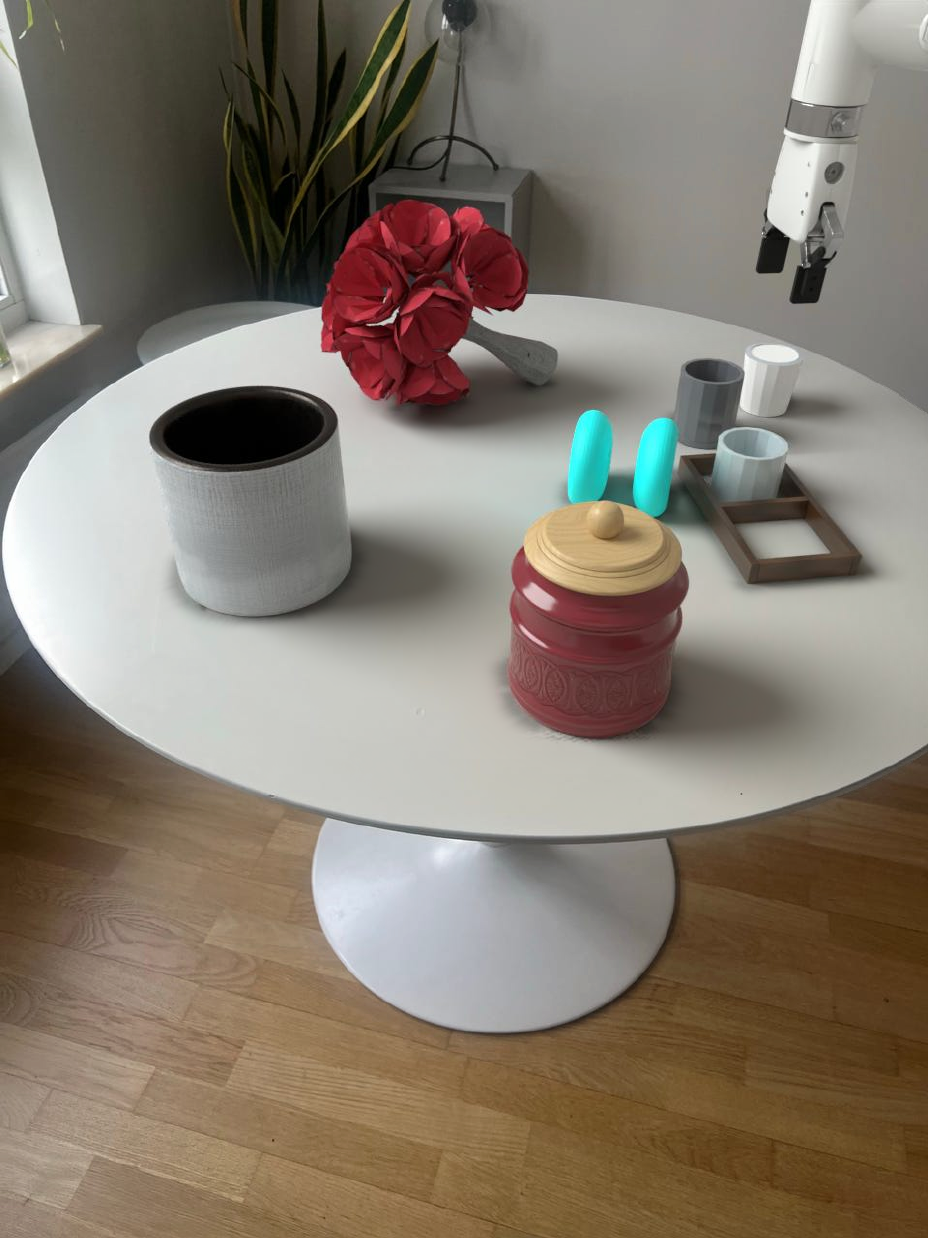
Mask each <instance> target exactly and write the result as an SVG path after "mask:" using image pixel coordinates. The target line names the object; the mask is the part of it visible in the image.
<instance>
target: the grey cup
mask: <svg viewBox="0 0 928 1238" xmlns="http://www.w3.org/2000/svg"><path fill="white" fill-rule="evenodd" d="M744 376H745V371H744V368H743V367H741V365H738V364H737V363H735V362H732V361H730V360H725V359H721V358H713V357H701V358H694V359H690V360H687V361H686V362H684V363H682V365H681V367H680V374H679V378H678V379H679V380H678V386H677V392H676V399H675V406H674V413H673V419H672V420H673V421H674V422H675V423H676V425H677V427H678V439H677V443H678V442H679V443H680V444H682V445H685V446H687V447H691V448H694V449H703V450H712V449H717V444H718V439H719V436H720V435H721V434H722V433H723V432H724V431H726V430H729V429H733V428H736V427H735V426H736V421H737V417H738V411H739V407H740V400H741V392H742V387H743V382H744Z"/></svg>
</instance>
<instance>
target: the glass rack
mask: <svg viewBox="0 0 928 1238" xmlns="http://www.w3.org/2000/svg"><path fill="white" fill-rule="evenodd" d="M715 455H716V452H711V453H698V454H684V455H680V456H679V461H678V468H677V475H678V476H679V478H680V480H681V481H682V483H683V484H684V486H685V488H686V489H687V491H688V493H689V494H690V495H691V498H692V499H693V501H694V502H695V504H696V505H697V507H698V508H699V510H700V511H701V513H702V515H703V517H704V518H705V519H706V521H707V522H708V525H709V526H710V528H711V529H712V531H713V532H714V534H715V535H716V537H717V538H718V540H719V542H720V543H721V545H722V546H723V548H724V549H725V551H726V553H727V554H728V556H729V558H730V559H731V561H732V562H733V564H734V565H735V567H736V569H737V570H738V572H739V574H740V575H741V576H742V578H743V580H744V581H745V583H746V584H747V585H754V584H765V583H775V582H787V581H788V582H789V581H798V580H799V581H800V580H809V579H810V580H811V579H821V578H833V577H846V576H856V575H857V574H858V570H859V568H860V564H861V561H862V558H863V554H862V553H861V552H860V550H859V549H858V548H857V547H856V546H855V544H854V543H853V542H852V541H851V540H850V539H849V537H848V536H847V535H846V534H845V532H844V531H843V530H842V529H841V528H840V526H839V525H838V524H837V523H836V522H835V520H834V519H833V518H832V517H831V516H830V514H829V513H828V511H826V509H825V508H824V507H823V506H822V505H821V504H820V502H819V501H818V500H817V498H815V496H814V495H813V493H811V491H810V490H809V489H808V487H806V485H805V484H804V483H803V482H802V480H800V478H799V477H798V476H797V474H796V473H795V472H794V471H793V470H792V468H791V467H790V466H789V465H788V463H787V462H786V461H785V465H784V469H783V473H782V477H781V482H780V486H779V489H780V490H781V491H782V493H783V494H784V495H785V496H786V497H779V498H778V497H777V498H776V499H764V500H751V501H738V502H725V503H719V502H718V501H717V499H716V498H715V496H714V495H713V493H712V492H711V490H710V489H709V485H708V484H707V482H706V481H705V480H704V477H702V476H706V475H707V476H709V475H712V470H713V465H714V460H715ZM803 519H804V521H805V522H806V523H807V524H808V526H809V527H810V528H811V530H812V531H813V532H814V533H815V535H816V536H817V537H818V539H819V541H821V542H822V544H823V545H824V546H825V547H826V548H827V550H828V551H829V553H827V552H826V553H817V554H803V555H793V556H782V557H781V556H779V557H767V558H757V557H756V556H755V554H754V553H753V552H752V550H751V548H750V546H748V544H747V542H746V540H745V539H744V538H743V537H742V535H741V534H740V532H739V531H738V529H737V528H736V525H740V524H752V523H753V524H754V523H764V522H766V523H767V522H777V521H778V522H779V521H791V520H792V521H793V520H803Z"/></svg>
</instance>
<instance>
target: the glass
mask: <svg viewBox="0 0 928 1238" xmlns="http://www.w3.org/2000/svg"><path fill="white" fill-rule="evenodd" d="M715 449H716V451H715V453H716V455H715V460H714V465H713V470H712V474H711V477H710V482H709V485H708V487H709V489H710V490H711V492H712V493H713V495H714V496H715V498H716V499H717V501H718V502H719V503H725V502H738V501H751V500H764V499H777V498H778V493H779V490H780V487H779V486H780V482H781V477H782V473H783V469H784V465H785V462H786V460H787V456H788V452H789V443H788V442H787V441H786V440H785V438H783V436H780V435H779V434H777V433H775V432H773V431H770V430H767V429H763V428H760V427H759V428H758V427H752V426H751V427H750V426H749V427H748V426H745V427H744V426H743V427H742V426H741V427H740V426H739V427H734V428H733V429H729V430H726V431H724V432H723V433H722V434H721V435H720V436H719V439H718V444H717V448H715Z"/></svg>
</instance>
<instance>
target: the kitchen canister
mask: <svg viewBox="0 0 928 1238" xmlns="http://www.w3.org/2000/svg"><path fill="white" fill-rule="evenodd" d="M679 540H680V539H679V538H678V537H677V536H676V534H675V533H674V532H673V531H672V530H671V529H670V527H668V526H667V525H666V524H664V523H663V522H662V521H660V520H659V519H658V518H656V517H651V516H649V515H648V514H646V513H644V512H643V511H641V510H639V509H637V507H633V506H630V505H627V504H624V503H619V502H614V501H611V500H599V501H589V502H581V503H576V504H572V503H571V504H569V505H566V506H564V507H561V508H557V509H555V510H552V511H550V512H547V513H546V514H543V515H542V516H540V517H539V518H538V519H536V520H535V521H534V522H533V523H532V524H531V525H530V526H529V527H528V529H527V530H526V533H525V536H524V539H523V544H522V545H521V546H520V548H519V549H518V550H517V552H516V554H515V555H514V558H513V560H512V563H511V567H510V576H511V580H512V581H511V582H512V584H513V586H514V589H513V591H512V593H511V596H510V600H509V615H510V618H511V624H510V625H511V626H510V627H511V629H510V650H509V654H508V658H507V667H506V668H507V671H506V673H507V674H506V677H507V683H508V687H509V689H510V692H511V694H512V696H513V699H514V701H515V702H516V703H517V704H518V706H519V707H520V709H521V710H522V711H523V712H524V713H526V714H527V715H528V716H529V717H530V718H531V719H532V720H534V721H535V722H537V723H539V724H540V725H542V726H544V727H546V728H548V729H551V730H553V731H556V732H559V733H561V734H565V735H568V736H573V737H579V738H586V739H587V738H588V739H589V738H590V739H591V738H592V739H604V738H611V737H612V738H613V737H619V736H622V735H625V734H628V733H632V732H634V731H636V730H638V729H640V728H642V727H644V726H645V725H647V724H648V723H650V722H651V721H652V720H653V719H654V718H655V717H656V716H657V715H658V714H659V713H660V711H661V710H662V709H663V707H664V706H665V704H666V702H667V699H668V697H669V694H670V688H671V684H672V672H671V671H672V664H673V660H674V655H675V654H674V653H675V649H676V644H677V639H678V637H679V635H680V633H681V629H682V626H683V619H684V617H683V609H682V604H683V603H684V601H685V600H686V597H687V596H688V592H689V589H690V577H689V573H688V570H687V568H686V565H685V563H684V562H683V561H682V560H683V549H682V545H681V542H680V541H679Z"/></svg>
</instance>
